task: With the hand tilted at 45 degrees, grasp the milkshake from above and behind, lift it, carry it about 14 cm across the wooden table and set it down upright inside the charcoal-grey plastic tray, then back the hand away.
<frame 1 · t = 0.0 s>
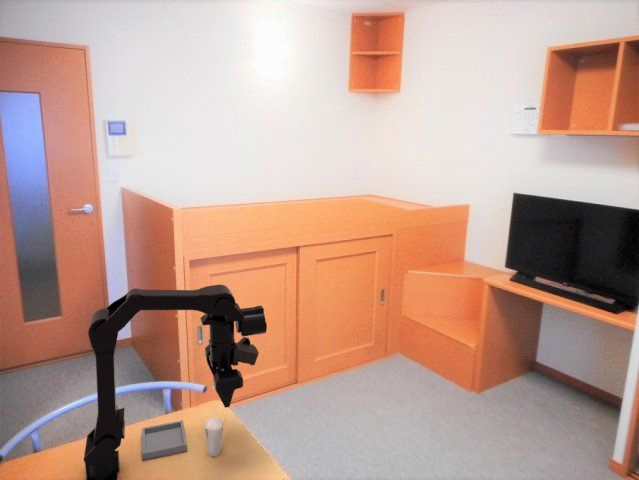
hand: (223, 396, 115), 15 cm above the table, tool pointing down, fingers open, 9 cm apart
tray: (164, 442, 120), on the table
milkshake: (216, 453, 117), on the table
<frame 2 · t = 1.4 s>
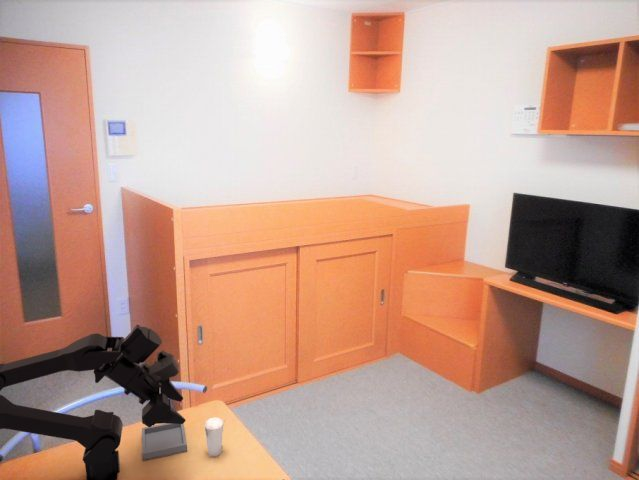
hand: (183, 410, 111), 13 cm above the table, tool tilted 45°, fingers open, 9 cm apart
nothing on the table moved.
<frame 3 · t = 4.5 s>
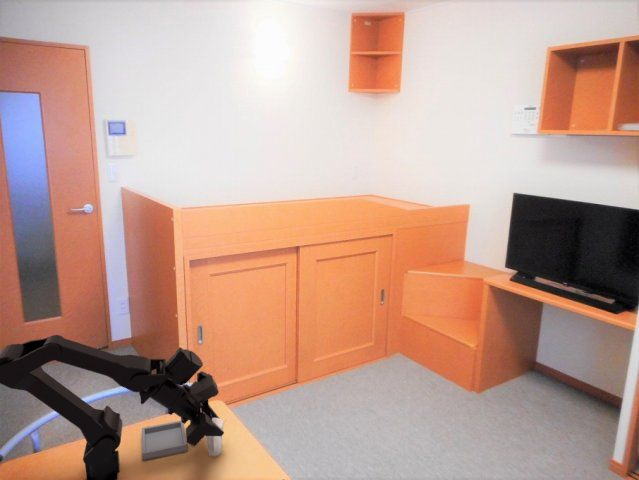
hand: (221, 428, 115), 7 cm above the table, tool tilted 45°, fingers closed on milkshake, 4 cm apart
milkshake: (216, 453, 117), on the table, touching gripper
when the fingers open (8 cm above the table, at t = 8.9 s): milkshake drops 1 cm, resting on tray.
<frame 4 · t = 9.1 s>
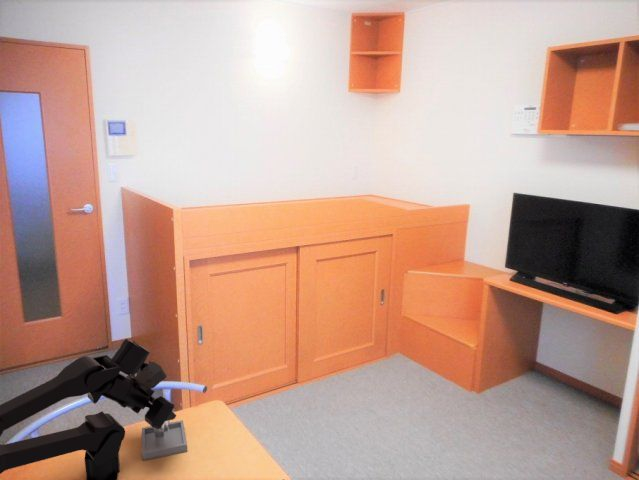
hand: (167, 411, 118), 9 cm above the table, tool tilted 45°, fingers open, 7 cm apart
milkshake: (163, 441, 119), resting on tray
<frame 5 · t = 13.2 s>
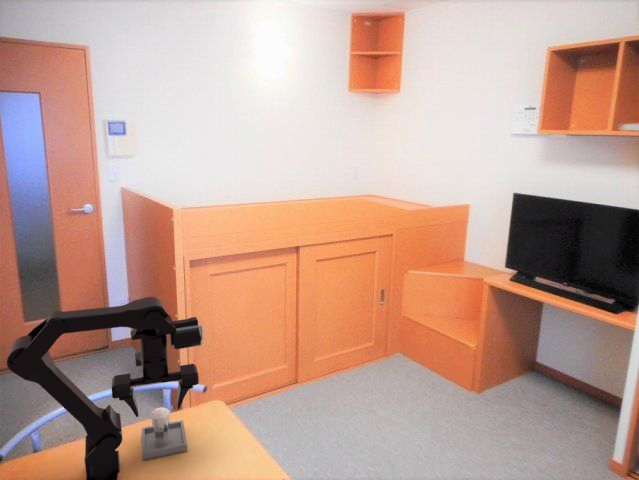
hand: (158, 412, 111), 13 cm above the table, tool pointing down, fingers open, 9 cm apart
nothing on the table moved.
at the end: milkshake 0.1 cm off-centre on the tray, point 0.3 cm above the tray's base; milkshake tilted 0°; the gripper is holding nothing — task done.
